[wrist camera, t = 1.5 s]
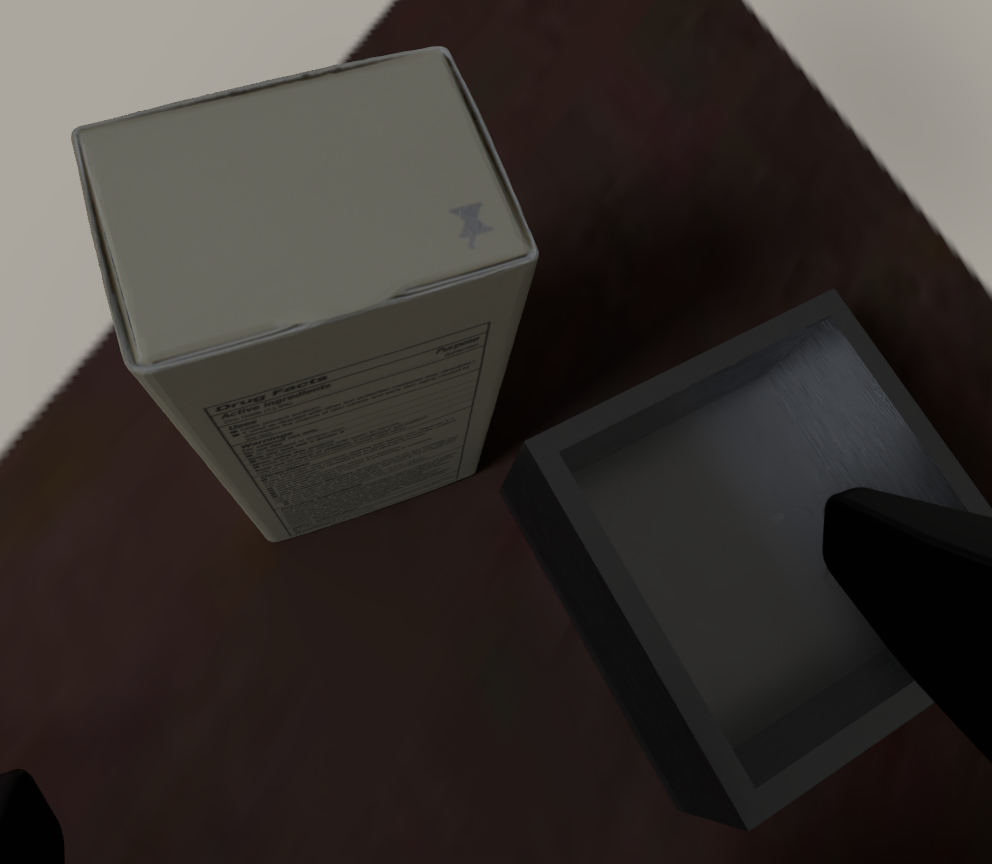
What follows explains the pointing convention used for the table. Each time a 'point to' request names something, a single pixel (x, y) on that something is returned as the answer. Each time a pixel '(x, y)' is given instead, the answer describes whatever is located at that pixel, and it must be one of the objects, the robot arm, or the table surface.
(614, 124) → the table surface
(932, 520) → the robot arm
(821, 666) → the grey open tray
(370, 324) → the skincare box
